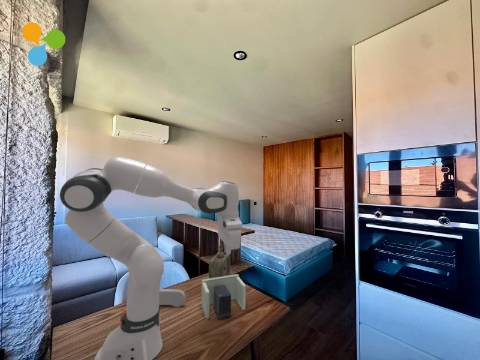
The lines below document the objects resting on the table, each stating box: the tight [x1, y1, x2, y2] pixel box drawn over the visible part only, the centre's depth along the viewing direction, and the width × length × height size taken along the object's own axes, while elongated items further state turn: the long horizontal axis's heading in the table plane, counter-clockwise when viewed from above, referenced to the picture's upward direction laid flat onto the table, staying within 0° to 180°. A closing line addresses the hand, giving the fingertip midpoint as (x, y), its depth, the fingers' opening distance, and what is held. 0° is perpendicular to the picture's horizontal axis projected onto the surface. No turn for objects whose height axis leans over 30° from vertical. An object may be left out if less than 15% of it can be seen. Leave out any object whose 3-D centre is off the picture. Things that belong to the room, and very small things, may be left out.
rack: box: [201, 274, 247, 319], centre depth 104 cm, size 20×12×13 cm, turn 111°
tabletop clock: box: [208, 243, 231, 279], centre depth 126 cm, size 14×9×25 cm, turn 164°
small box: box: [212, 285, 232, 320], centre depth 100 cm, size 11×6×10 cm, turn 21°
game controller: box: [159, 288, 187, 308], centre depth 104 cm, size 20×2×8 cm, turn 89°
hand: (227, 253), depth 85 cm, fingers closed
